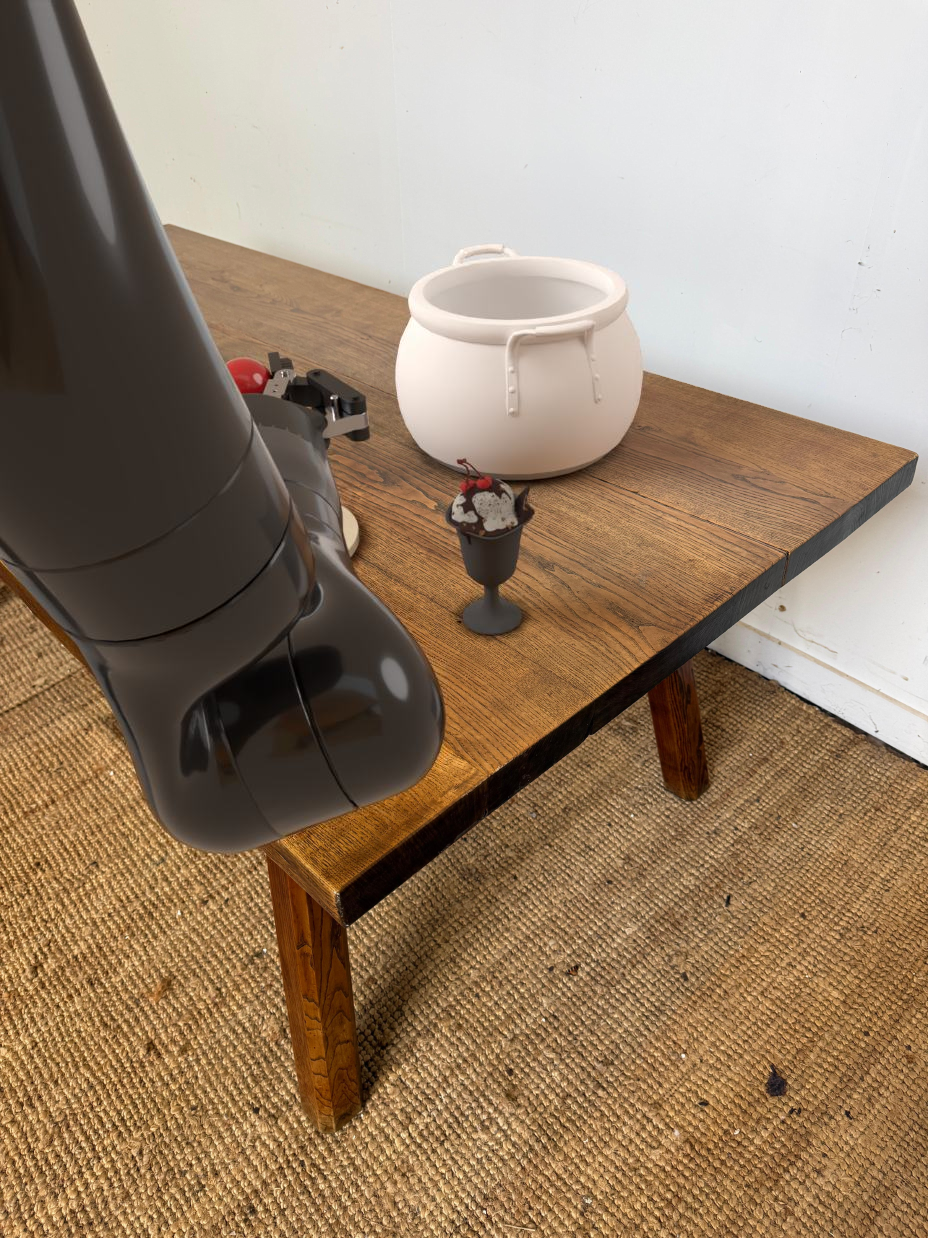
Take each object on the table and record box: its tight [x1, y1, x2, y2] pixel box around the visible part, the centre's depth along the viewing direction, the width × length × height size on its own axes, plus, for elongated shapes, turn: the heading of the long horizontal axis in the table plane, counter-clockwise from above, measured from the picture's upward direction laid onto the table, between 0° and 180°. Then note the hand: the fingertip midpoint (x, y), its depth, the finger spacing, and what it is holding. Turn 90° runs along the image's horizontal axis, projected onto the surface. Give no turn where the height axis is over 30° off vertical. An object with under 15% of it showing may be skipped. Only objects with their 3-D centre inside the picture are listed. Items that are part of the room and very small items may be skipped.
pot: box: [394, 243, 644, 481], centre depth 94 cm, size 29×26×17 cm
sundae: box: [444, 458, 536, 636], centre depth 69 cm, size 7×7×15 cm
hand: (242, 371), depth 57 cm, fingers closed on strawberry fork, 3 cm apart
